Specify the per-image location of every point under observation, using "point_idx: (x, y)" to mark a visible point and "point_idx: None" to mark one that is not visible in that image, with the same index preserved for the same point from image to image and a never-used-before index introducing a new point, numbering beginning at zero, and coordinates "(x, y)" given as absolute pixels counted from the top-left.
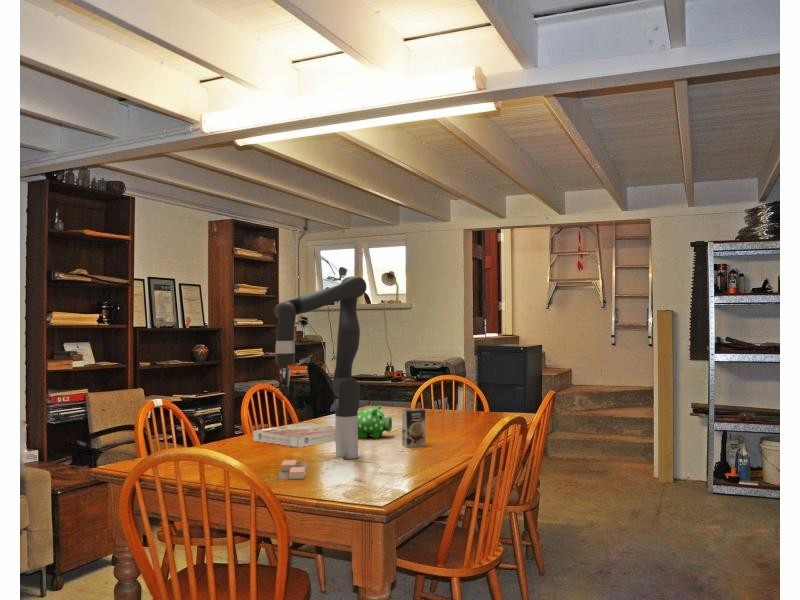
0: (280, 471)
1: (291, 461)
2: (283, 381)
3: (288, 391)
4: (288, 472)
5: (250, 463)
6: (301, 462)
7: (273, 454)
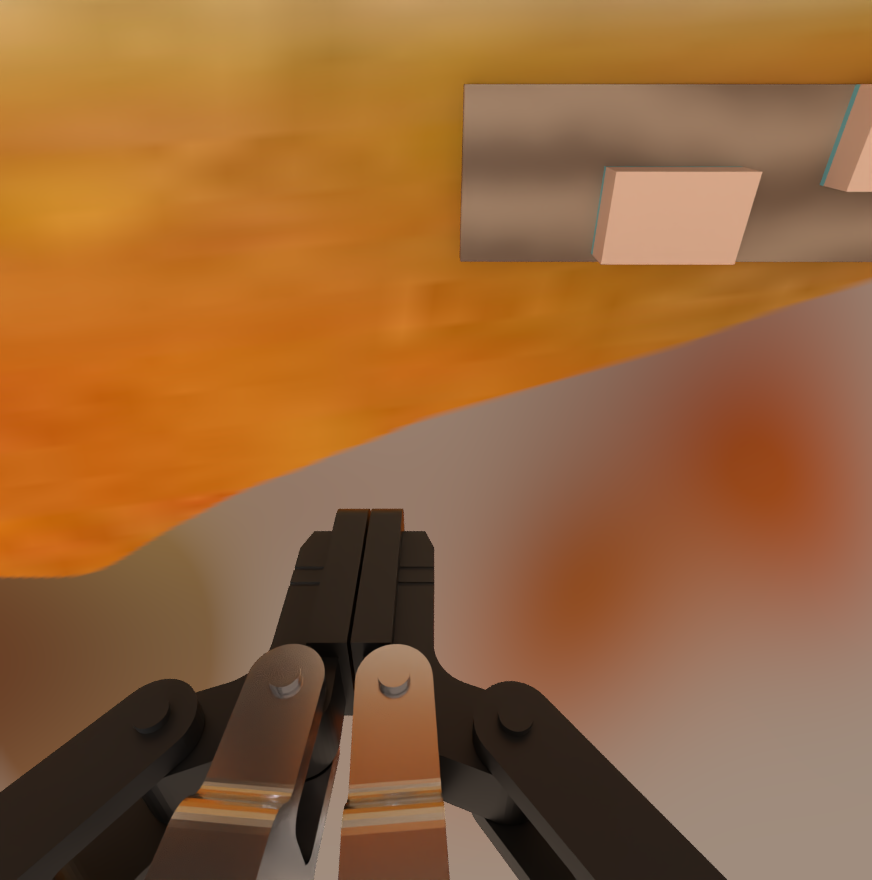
0: None
1: (651, 206)
2: (318, 830)
3: (329, 552)
4: (756, 207)
5: (372, 433)
6: (474, 141)
7: (127, 351)
